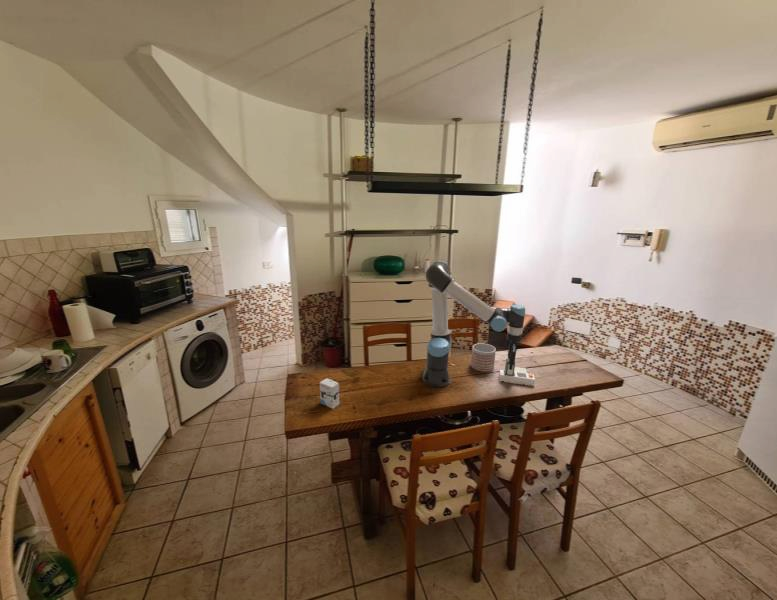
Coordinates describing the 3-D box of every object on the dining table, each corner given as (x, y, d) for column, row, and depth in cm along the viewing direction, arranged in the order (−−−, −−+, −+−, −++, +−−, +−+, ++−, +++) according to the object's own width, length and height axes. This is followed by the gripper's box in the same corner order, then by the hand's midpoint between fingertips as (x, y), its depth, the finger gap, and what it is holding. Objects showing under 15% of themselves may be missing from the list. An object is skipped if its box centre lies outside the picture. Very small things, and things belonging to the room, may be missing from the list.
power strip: (499, 381, 183) (500, 373, 182) (499, 375, 189) (499, 368, 188) (534, 386, 179) (535, 378, 177) (532, 380, 185) (533, 372, 183)
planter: (473, 360, 208) (474, 341, 205) (495, 364, 203) (497, 345, 199) (468, 369, 197) (470, 349, 193) (491, 374, 191) (494, 354, 187)
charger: (504, 376, 183) (506, 361, 180) (504, 372, 187) (506, 358, 184) (513, 377, 182) (515, 363, 179) (512, 374, 186) (514, 359, 183)
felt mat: (511, 374, 191) (511, 373, 191) (509, 367, 200) (510, 366, 200) (527, 376, 189) (527, 375, 189) (525, 369, 197) (525, 368, 197)
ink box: (320, 403, 159) (319, 382, 156) (327, 398, 163) (326, 377, 160) (332, 409, 155) (332, 387, 152) (339, 404, 159) (339, 383, 156)
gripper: (524, 340, 168) (517, 380, 175) (520, 328, 184) (514, 365, 191) (508, 338, 170) (503, 378, 176) (506, 327, 186) (501, 364, 193)
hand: (509, 371), depth 184 cm, fingers closed on charger, 4 cm apart
